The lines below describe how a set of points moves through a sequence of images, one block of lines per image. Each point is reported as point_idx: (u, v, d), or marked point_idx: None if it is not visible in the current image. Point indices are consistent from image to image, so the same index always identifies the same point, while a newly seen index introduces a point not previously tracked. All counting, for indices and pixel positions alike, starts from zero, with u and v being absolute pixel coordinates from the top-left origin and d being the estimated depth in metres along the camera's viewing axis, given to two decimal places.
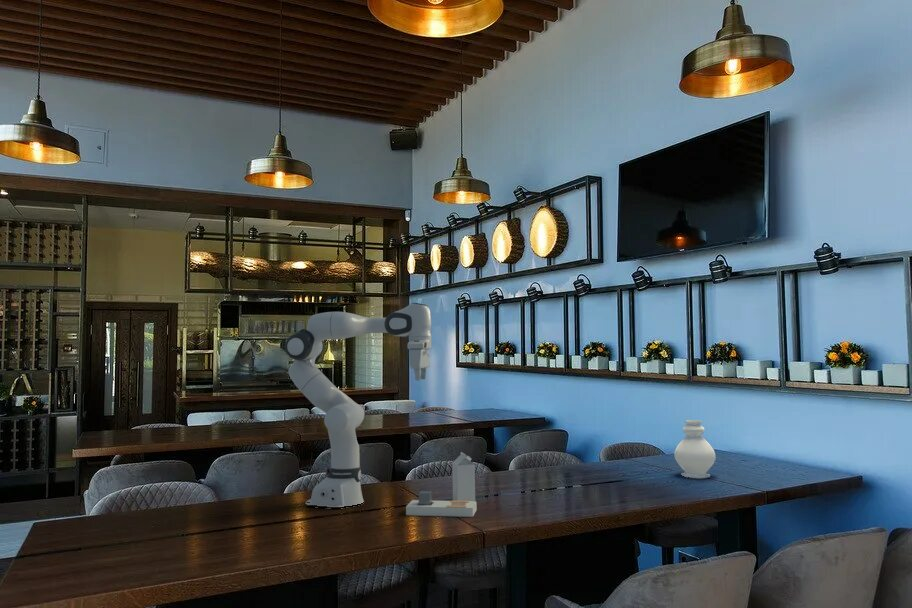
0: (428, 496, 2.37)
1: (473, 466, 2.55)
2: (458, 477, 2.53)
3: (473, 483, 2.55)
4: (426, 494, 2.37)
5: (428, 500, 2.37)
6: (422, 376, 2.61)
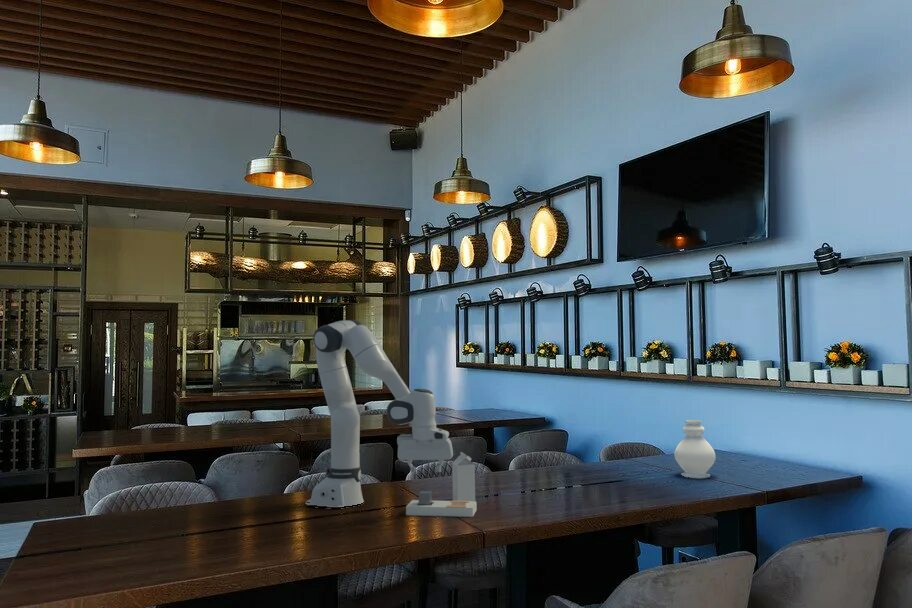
0: (428, 496, 2.37)
1: (473, 466, 2.55)
2: (458, 477, 2.53)
3: (473, 483, 2.55)
4: (426, 494, 2.37)
5: (428, 500, 2.37)
6: (414, 469, 2.41)
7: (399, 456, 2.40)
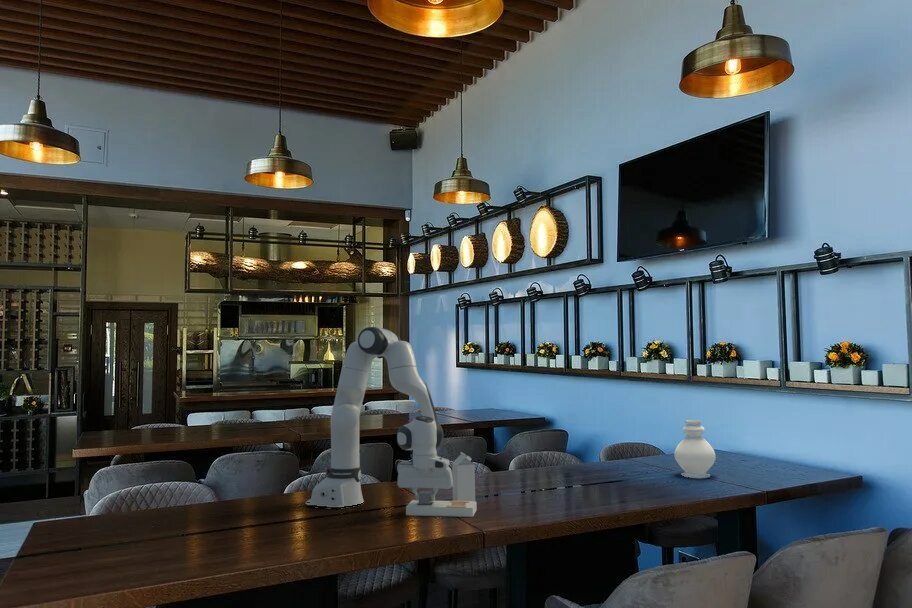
0: (428, 496, 2.37)
1: (473, 466, 2.55)
2: (458, 477, 2.53)
3: (473, 483, 2.55)
4: (426, 494, 2.37)
5: (428, 500, 2.37)
6: None
7: (399, 484, 2.40)
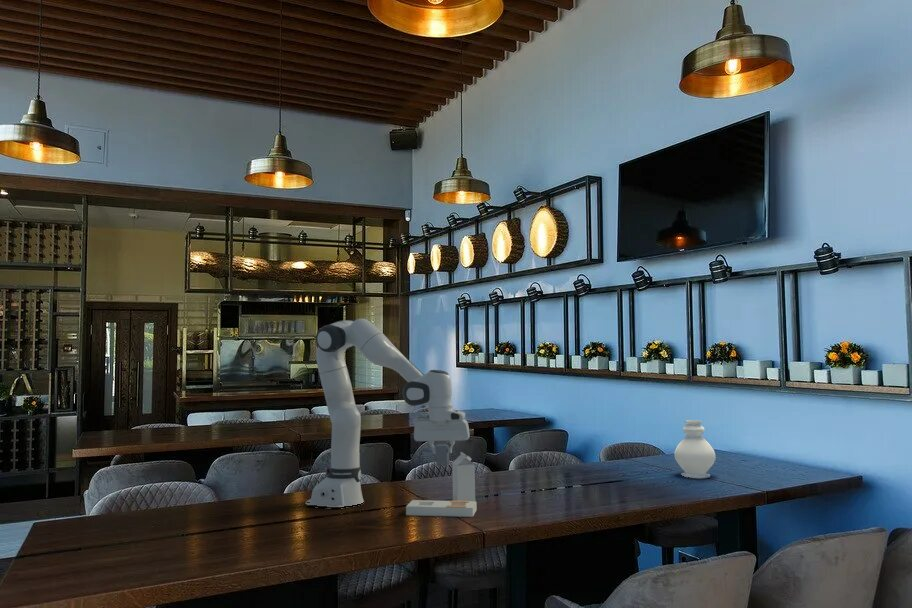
0: (445, 448, 2.37)
1: (473, 466, 2.55)
2: (458, 477, 2.53)
3: (473, 483, 2.55)
4: (443, 447, 2.37)
5: (445, 452, 2.37)
6: None
7: (415, 437, 2.39)
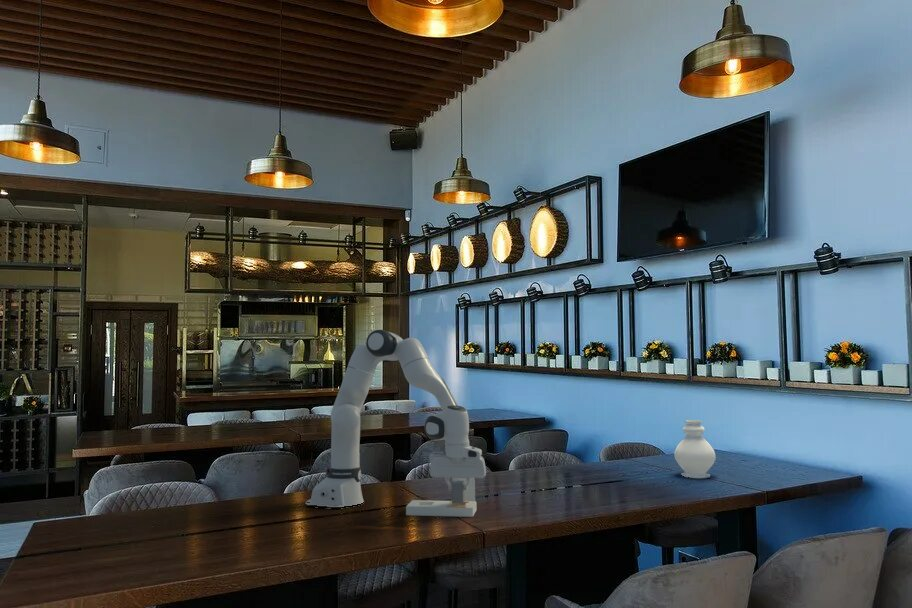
0: (461, 486, 2.36)
1: None
2: None
3: (473, 483, 2.55)
4: (459, 484, 2.36)
5: (461, 490, 2.36)
6: None
7: (431, 473, 2.38)
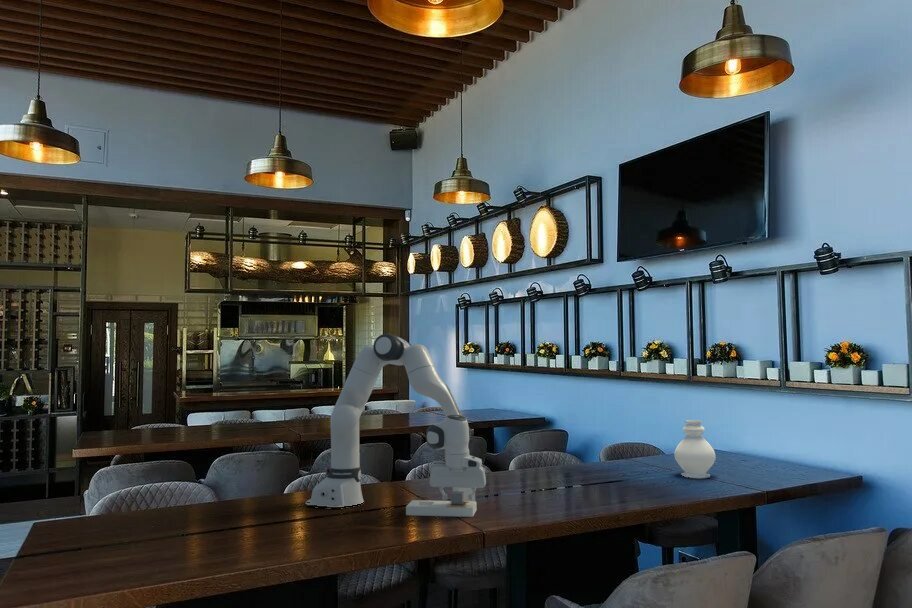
0: (461, 496, 2.35)
1: None
2: None
3: None
4: (459, 494, 2.36)
5: (461, 500, 2.35)
6: (446, 496, 2.38)
7: (431, 483, 2.38)
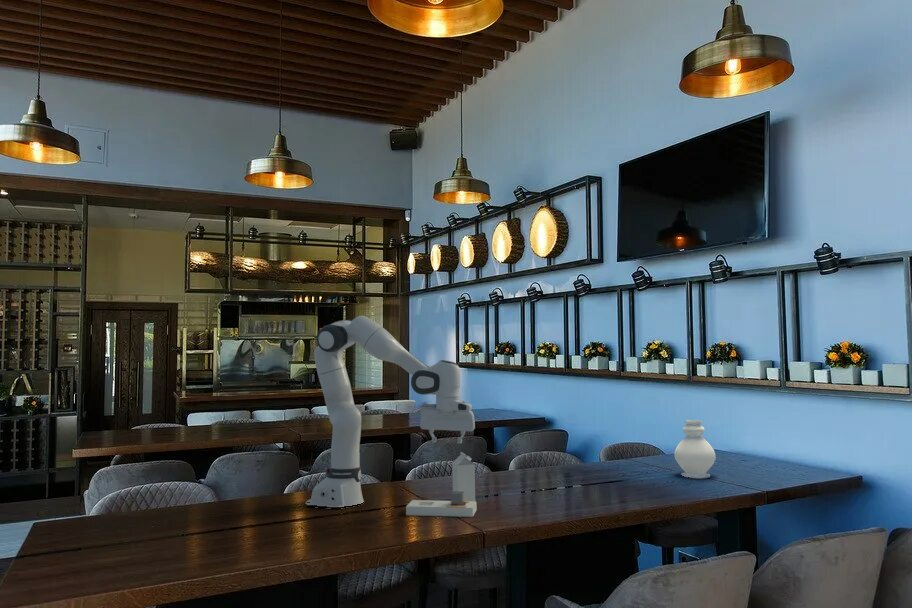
0: (461, 496, 2.35)
1: (473, 466, 2.55)
2: (458, 477, 2.53)
3: (473, 483, 2.55)
4: (459, 494, 2.36)
5: (461, 500, 2.35)
6: None
7: (421, 425, 2.43)
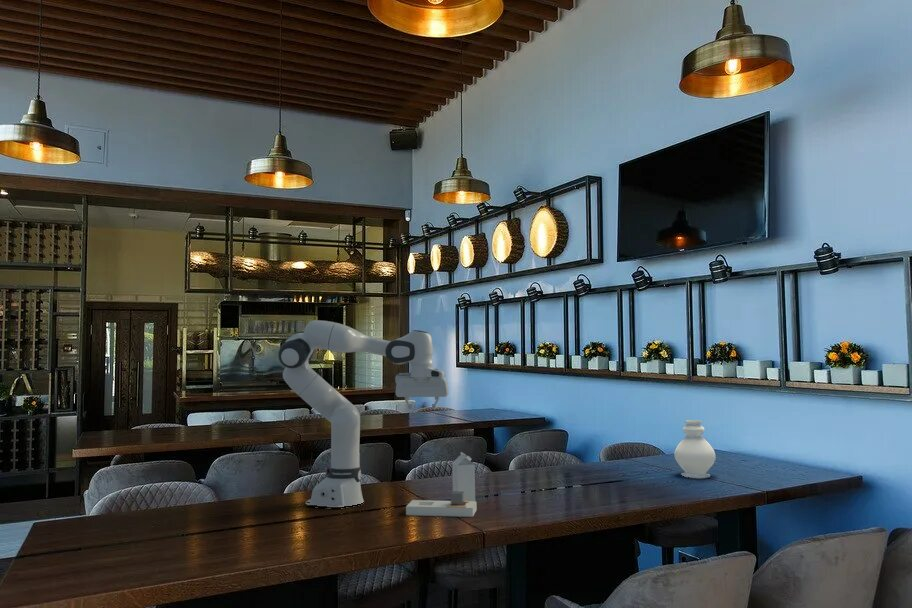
0: (461, 496, 2.35)
1: (473, 466, 2.55)
2: (458, 477, 2.53)
3: (473, 483, 2.55)
4: (459, 494, 2.36)
5: (461, 500, 2.35)
6: (411, 406, 2.53)
7: (397, 393, 2.52)
